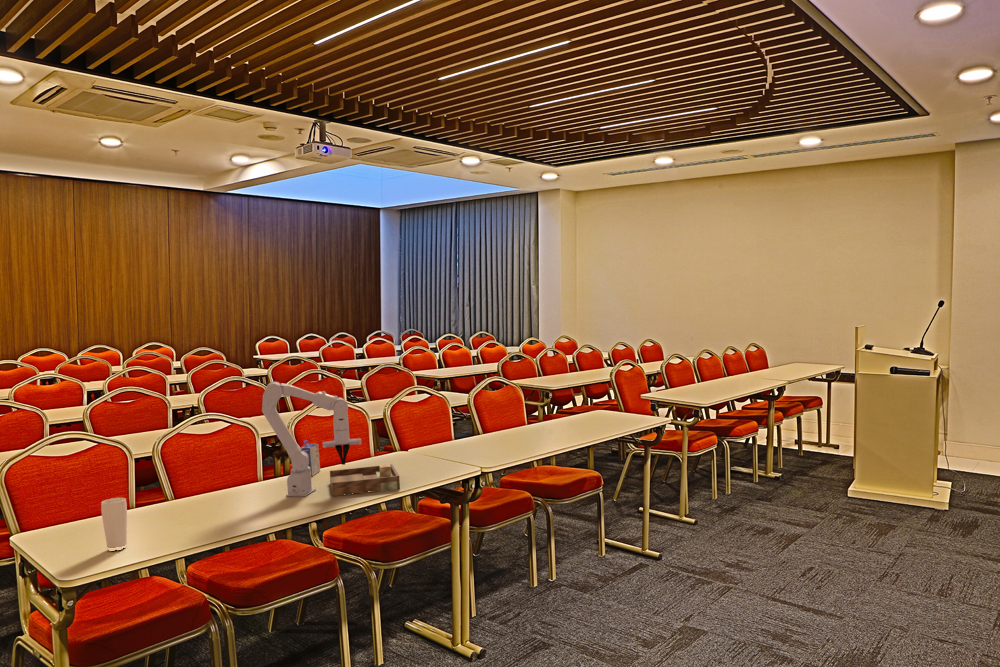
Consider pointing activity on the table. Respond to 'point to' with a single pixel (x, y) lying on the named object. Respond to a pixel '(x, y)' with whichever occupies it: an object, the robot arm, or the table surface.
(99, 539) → the table surface
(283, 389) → the robot arm
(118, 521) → the drinking glass
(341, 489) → the box
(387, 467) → the block
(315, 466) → the ink cartridge box
